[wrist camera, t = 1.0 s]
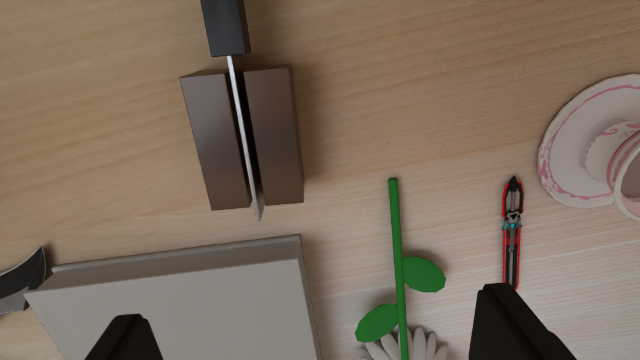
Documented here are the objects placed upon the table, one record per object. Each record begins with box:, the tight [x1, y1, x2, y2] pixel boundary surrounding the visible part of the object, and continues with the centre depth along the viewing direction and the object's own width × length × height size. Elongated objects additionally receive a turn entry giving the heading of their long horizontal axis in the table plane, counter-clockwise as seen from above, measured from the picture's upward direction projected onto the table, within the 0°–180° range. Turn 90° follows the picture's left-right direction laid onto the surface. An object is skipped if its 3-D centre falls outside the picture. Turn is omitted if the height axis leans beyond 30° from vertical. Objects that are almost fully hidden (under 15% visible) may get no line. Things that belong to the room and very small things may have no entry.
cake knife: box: [200, 0, 265, 221], centre depth 24 cm, size 19×2×4 cm, turn 5°
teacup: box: [537, 74, 640, 221], centre depth 26 cm, size 12×12×6 cm
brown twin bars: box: [179, 63, 304, 211], centre depth 24 cm, size 18×7×4 cm, turn 5°
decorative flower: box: [352, 178, 448, 360], centre depth 33 cm, size 13×5×30 cm
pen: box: [502, 176, 524, 291], centre depth 32 cm, size 2×14×1 cm, turn 12°
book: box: [23, 234, 322, 360], centre depth 33 cm, size 18×4×24 cm
